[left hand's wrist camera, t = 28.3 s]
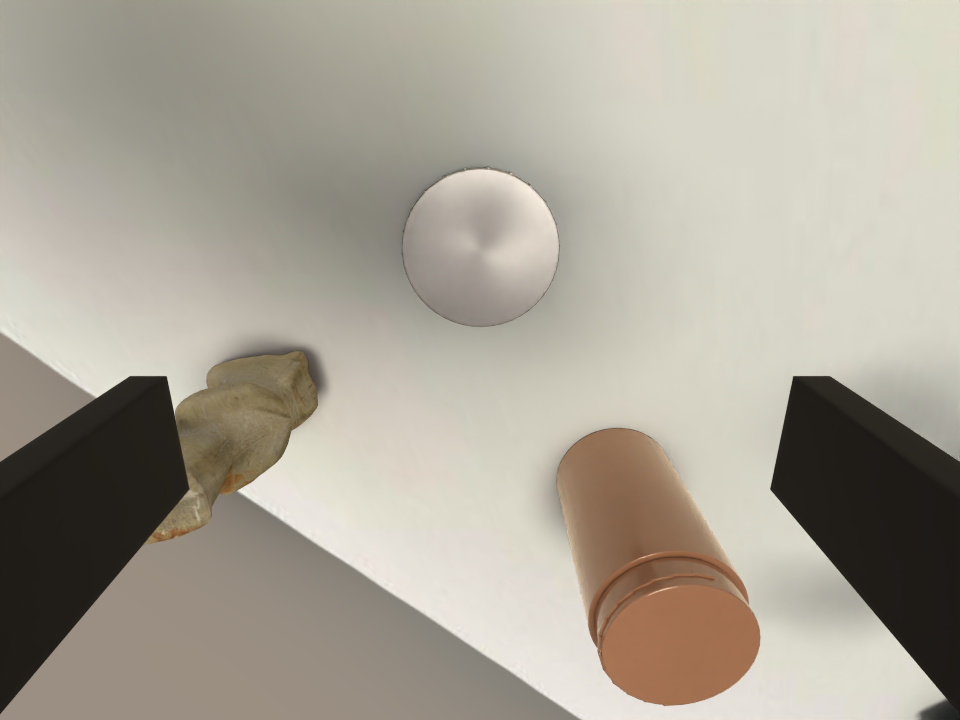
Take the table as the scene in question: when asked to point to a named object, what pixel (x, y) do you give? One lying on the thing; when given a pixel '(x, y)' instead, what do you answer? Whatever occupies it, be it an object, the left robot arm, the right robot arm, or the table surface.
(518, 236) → the lid
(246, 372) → the sculpture
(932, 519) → the left robot arm
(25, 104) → the table surface
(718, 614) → the jar
